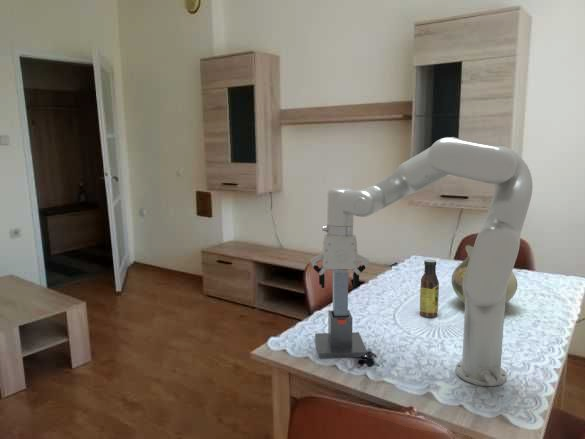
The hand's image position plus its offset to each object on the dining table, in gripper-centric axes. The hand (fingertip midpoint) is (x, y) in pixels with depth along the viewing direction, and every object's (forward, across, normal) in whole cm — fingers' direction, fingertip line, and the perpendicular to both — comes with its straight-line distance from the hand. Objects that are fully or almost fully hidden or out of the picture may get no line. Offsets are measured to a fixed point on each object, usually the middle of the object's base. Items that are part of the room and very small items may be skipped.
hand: (338, 286), depth 139 cm
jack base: (+19, +1, 0) cm, 19 cm away
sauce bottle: (+19, +36, +24) cm, 47 cm away
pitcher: (+18, +58, +31) cm, 68 cm away
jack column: (+17, +1, 0) cm, 17 cm away
